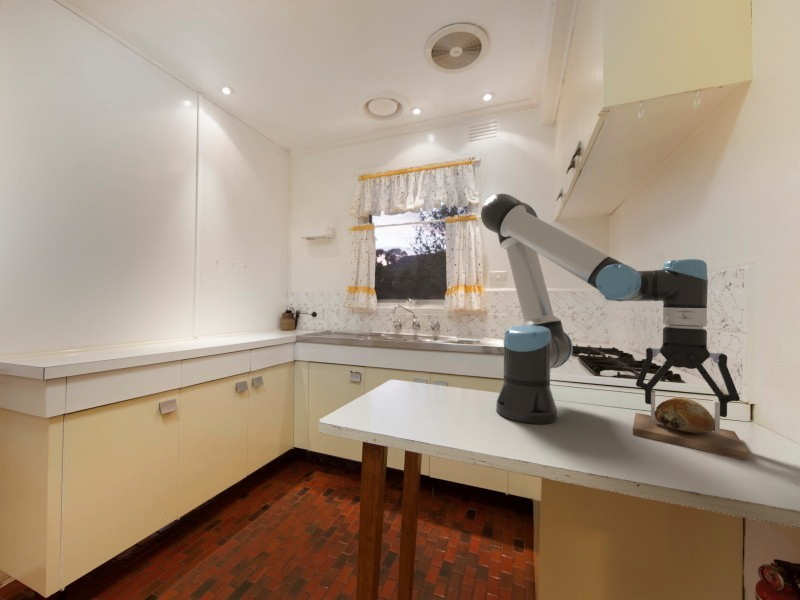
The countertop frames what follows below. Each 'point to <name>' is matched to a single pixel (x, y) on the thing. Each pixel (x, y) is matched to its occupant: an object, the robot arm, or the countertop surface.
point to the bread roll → (684, 415)
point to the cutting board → (691, 437)
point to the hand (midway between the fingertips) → (683, 424)
